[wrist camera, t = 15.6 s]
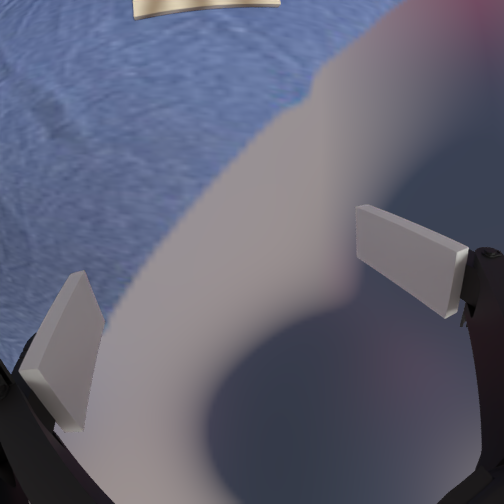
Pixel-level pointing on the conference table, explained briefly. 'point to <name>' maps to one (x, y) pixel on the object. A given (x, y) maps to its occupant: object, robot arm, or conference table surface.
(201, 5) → the birch board
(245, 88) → the conference table surface
